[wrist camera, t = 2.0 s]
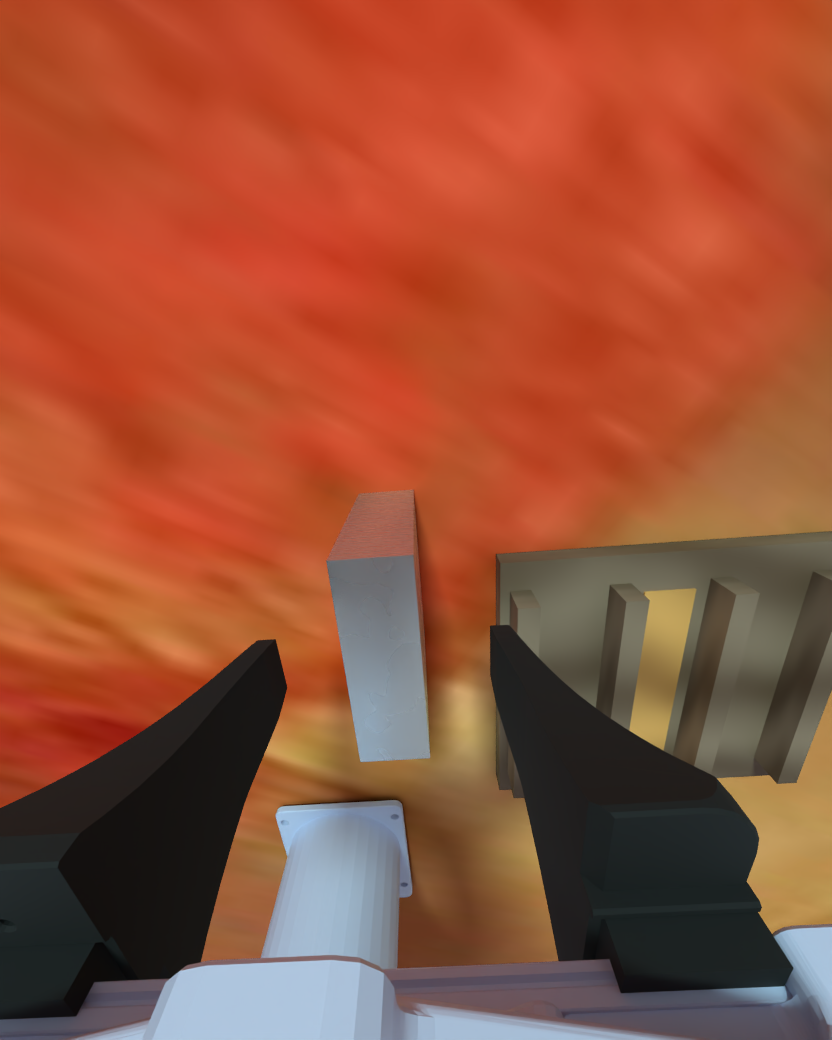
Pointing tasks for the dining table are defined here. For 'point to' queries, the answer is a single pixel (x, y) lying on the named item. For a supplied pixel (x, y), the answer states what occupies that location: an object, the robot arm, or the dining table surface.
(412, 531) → the panel
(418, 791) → the dining table surface
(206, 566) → the dining table surface
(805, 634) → the slot rack
